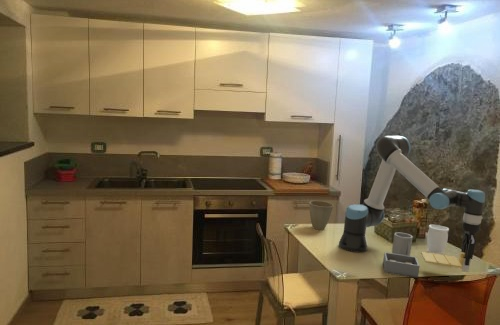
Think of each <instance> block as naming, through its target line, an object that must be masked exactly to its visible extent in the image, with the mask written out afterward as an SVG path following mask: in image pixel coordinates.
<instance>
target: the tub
mask: <svg viewBox="0 0 500 325" xmlns="http://www.w3.org/2000/svg"><path fill="white" fill-rule="evenodd" d="M382 266H383V271H384V274H385V273H386V274H391V275H396V276H397V275H398V276H403V277H409V278H414V279H415V278H416V279H418V278H419V273H420V267H421V266H420V263H419V260H418V258H417V257H416V256H412V255H410V256H405V255H399V254H392V252H384V254H383V260H382Z"/></svg>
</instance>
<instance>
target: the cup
mask: <svg viewBox="0 0 500 325" xmlns="http://www.w3.org/2000/svg"><path fill="white" fill-rule="evenodd" d="M413 238H414V236H413V235H412V234H409V233H405V232H394V235H393V242H392V248H391V253H392V254H399V255H405V256H411V251H412V245H413V244H412V243H413Z"/></svg>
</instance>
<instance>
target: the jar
mask: <svg viewBox="0 0 500 325" xmlns="http://www.w3.org/2000/svg"><path fill="white" fill-rule="evenodd" d="M428 228H429V229H428V232H427V236H426V237H427V238H426V240H427V241H426V243H427V246H426V247H427V251H426V252H427V253H434V254H440V255H444V251H445V249H446V246H447V243H448V239H449V238H448V237H449V231H450V228H449V227H447V226H444V225H439V224H429V225H428Z"/></svg>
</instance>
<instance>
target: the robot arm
mask: <svg viewBox="0 0 500 325" xmlns="http://www.w3.org/2000/svg"><path fill="white" fill-rule="evenodd" d="M375 144H376V145H375V152H377V155H378V156H379V157H380V159H381V163H380V164H379V169H378V170H377V173H376V176H375V178H374V180H373V183H372V187H371V189H370V192H369V195H368V198H365V199H363V203H362V204H359V203H358V204H350V205H348V206H347V207H346V209H345V214H344V215H345V217H344V225H343V233H342V236H341V237H340V239H339V242H338V247H339V248H341V249H342V250H345V251H347V252H353V253H364V252H367V250H368V244H367V239H366V238H367V237H366V231H367V228H369V227H375V226H377V225H380V224H381V223H382V222H383V221H384V219H385V205H384V202H385V199H386V197H387V195H388V191H389V189H390V187H391V185H392V182H393V178H394V177H395V173H396V171H398V173H399V174H400V175H402V176H403V177H404V178H405V179H406V180H407V181H408V182H409V183H411V184H412V186H414V187H415V188H416V189H417V190H418V191H419V192H420V193H421V194H422V195H424V196H425V198H427V200H428V202H429V204H430V207H432V208H433V209H435V210H444V209H446V208H451V207H457V208H462V209H464V211H463V212H464V213H463V217H462V218H463V219H462V225H461V229H462V230H463V232H462V240H461V242H462V243H461V251H460V252H464V253H465V257H463V258H464V260H463V264H461V265H462V266H463V268H460V269H461V271H462V272H466V273H469V270H470V266H471V261H470V259H471V260H472V259H473V256H474V252H475V246H476V243H477V240H476V233H477V234H478V233H480V232H481V223H482V220H483V219H484V217H483V212H484V207H485V203H486V201H485V200H486V198H485V197H486V193H485V191H482V190H481V189H480V190H479V189H471V188H470V189H468V190H467V192H465V191H464V192H463V191H459V190H455V189H451V188H443V189H442V188H441V187H440V186H439V185H438V184H437V183H435V182H434V180H432V179H431V178H430V177H429V176H428V175H427V174H425V173H424V172H423V171H422V170H421V169H420V168H418V166H416V165H415V164H414V163H413V162H412V161H411V160H410V159H409V158H407V156H408V155H409V154H410V152H411V149H412V146H411V143H410V141H409V139H408V138H407V137H406V136H401V135H384V136H381V138H378V140H377V142H376V143H375ZM469 265H470V266H469Z"/></svg>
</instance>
